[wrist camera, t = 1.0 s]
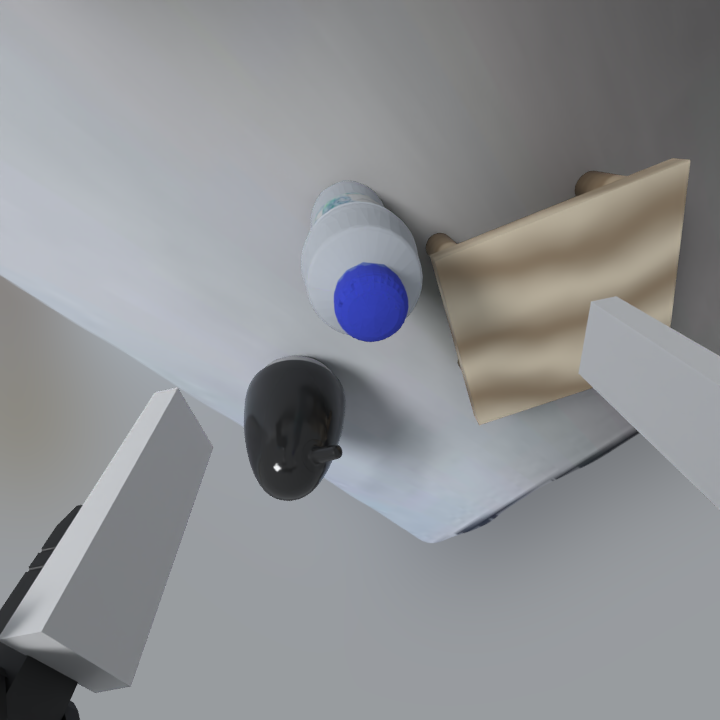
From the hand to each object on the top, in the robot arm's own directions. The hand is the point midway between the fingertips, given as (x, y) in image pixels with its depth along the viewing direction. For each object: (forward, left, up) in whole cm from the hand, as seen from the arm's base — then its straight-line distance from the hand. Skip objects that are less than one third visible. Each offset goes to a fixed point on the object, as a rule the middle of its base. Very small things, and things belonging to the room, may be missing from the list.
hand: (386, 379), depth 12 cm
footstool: (+10, +16, -24) cm, 31 cm away
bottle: (0, 0, -24) cm, 25 cm away
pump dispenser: (+16, -9, -25) cm, 31 cm away
